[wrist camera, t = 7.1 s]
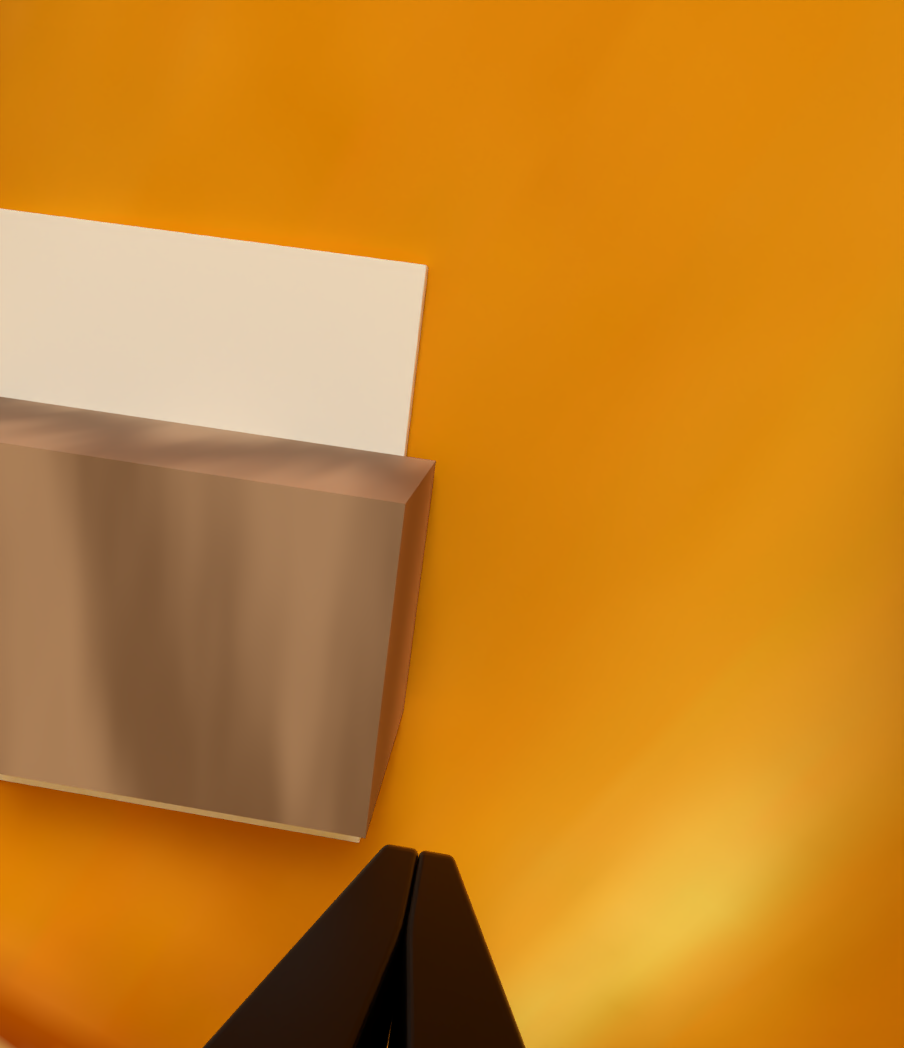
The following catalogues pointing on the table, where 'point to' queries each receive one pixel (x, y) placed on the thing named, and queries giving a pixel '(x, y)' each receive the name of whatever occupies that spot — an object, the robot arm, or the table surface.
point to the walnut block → (205, 613)
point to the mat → (209, 343)
